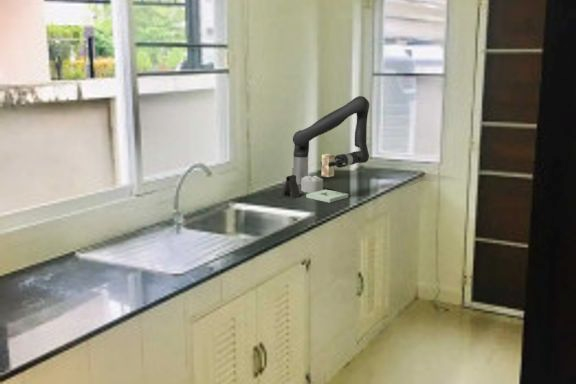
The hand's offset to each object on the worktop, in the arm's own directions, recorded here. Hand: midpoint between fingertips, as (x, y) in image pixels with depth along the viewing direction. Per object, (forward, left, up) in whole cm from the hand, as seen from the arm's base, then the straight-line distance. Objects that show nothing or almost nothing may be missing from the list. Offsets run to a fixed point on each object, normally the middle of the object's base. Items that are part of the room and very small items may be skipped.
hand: (325, 164), depth 337 cm
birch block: (0, +3, -7) cm, 7 cm away
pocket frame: (0, +3, -20) cm, 20 cm away
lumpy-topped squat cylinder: (-18, +10, -20) cm, 28 cm away
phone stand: (-17, -9, -20) cm, 28 cm away
